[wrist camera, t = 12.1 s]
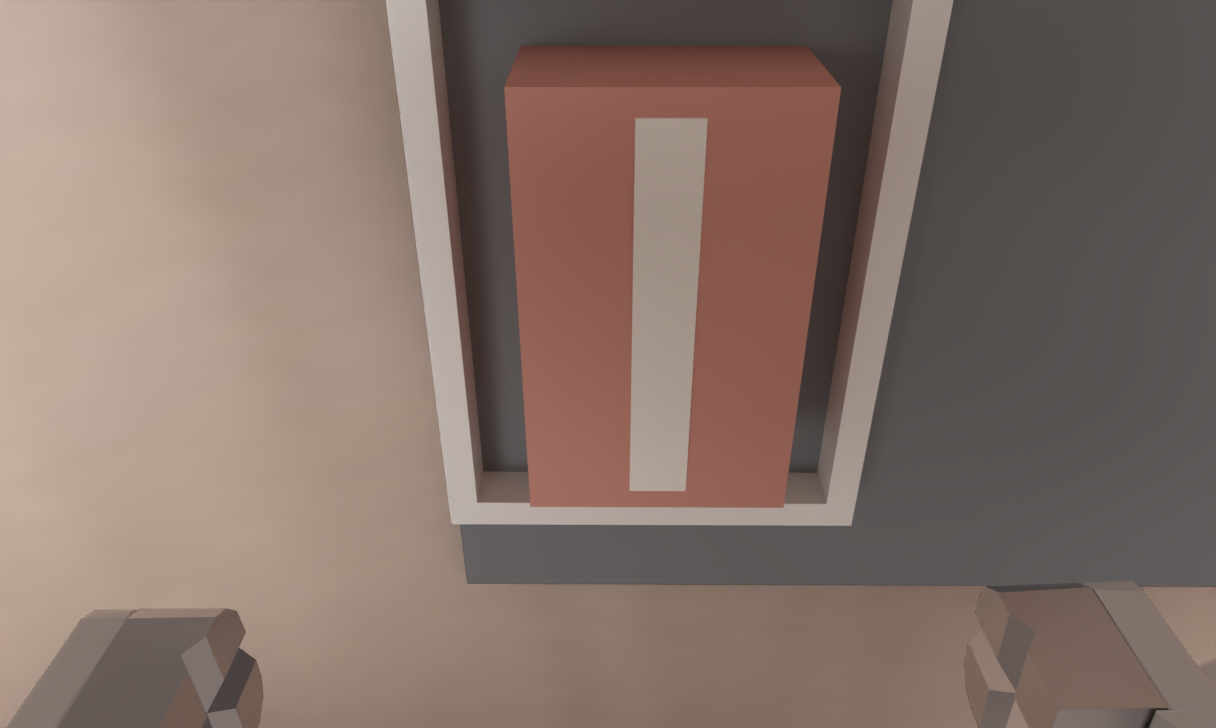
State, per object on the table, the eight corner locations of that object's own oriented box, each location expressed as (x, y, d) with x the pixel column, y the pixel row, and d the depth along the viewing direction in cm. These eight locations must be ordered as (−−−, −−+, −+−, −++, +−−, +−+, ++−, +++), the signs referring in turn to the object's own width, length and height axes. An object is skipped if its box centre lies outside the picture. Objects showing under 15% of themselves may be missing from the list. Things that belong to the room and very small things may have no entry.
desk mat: (1249, 576, 25) (1258, 587, 25) (469, 573, 25) (467, 583, 25) (1725, -315, 14) (1753, -318, 14) (366, -314, 14) (360, -317, 14)
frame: (840, 493, 23) (851, 525, 22) (458, 492, 23) (451, 524, 22) (945, -85, 16) (969, -78, 15) (390, -86, 16) (375, -78, 15)
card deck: (521, 46, 17) (504, 87, 14) (807, 46, 17) (841, 87, 14) (540, 425, 22) (530, 508, 19) (763, 426, 22) (783, 508, 19)
